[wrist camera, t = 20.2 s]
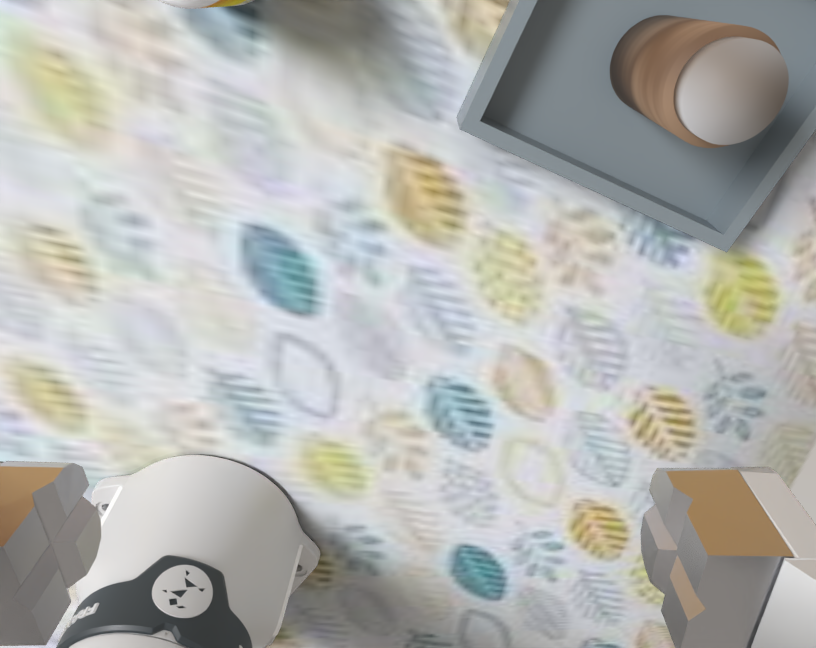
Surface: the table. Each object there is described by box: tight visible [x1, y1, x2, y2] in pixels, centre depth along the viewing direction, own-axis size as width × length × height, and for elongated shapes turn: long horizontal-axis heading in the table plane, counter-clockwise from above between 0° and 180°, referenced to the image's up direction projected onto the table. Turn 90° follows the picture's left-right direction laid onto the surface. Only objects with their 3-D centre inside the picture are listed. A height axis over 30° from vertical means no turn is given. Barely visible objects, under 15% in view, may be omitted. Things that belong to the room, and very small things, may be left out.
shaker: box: [610, 15, 789, 148], centre depth 30 cm, size 5×5×10 cm
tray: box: [457, 0, 816, 252], centre depth 33 cm, size 14×17×4 cm
